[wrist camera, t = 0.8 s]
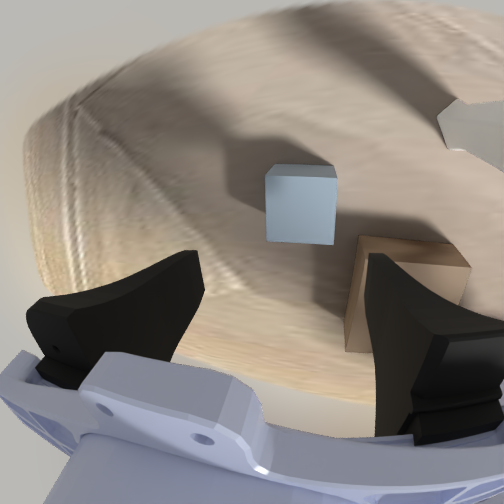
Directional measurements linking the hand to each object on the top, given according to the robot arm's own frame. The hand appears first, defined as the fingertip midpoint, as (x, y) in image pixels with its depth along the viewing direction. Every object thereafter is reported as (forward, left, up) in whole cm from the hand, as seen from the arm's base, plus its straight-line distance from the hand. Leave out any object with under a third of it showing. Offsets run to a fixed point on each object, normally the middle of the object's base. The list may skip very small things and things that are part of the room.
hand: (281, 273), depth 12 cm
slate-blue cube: (0, -1, -10) cm, 10 cm away
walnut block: (-8, +6, -10) cm, 14 cm away
